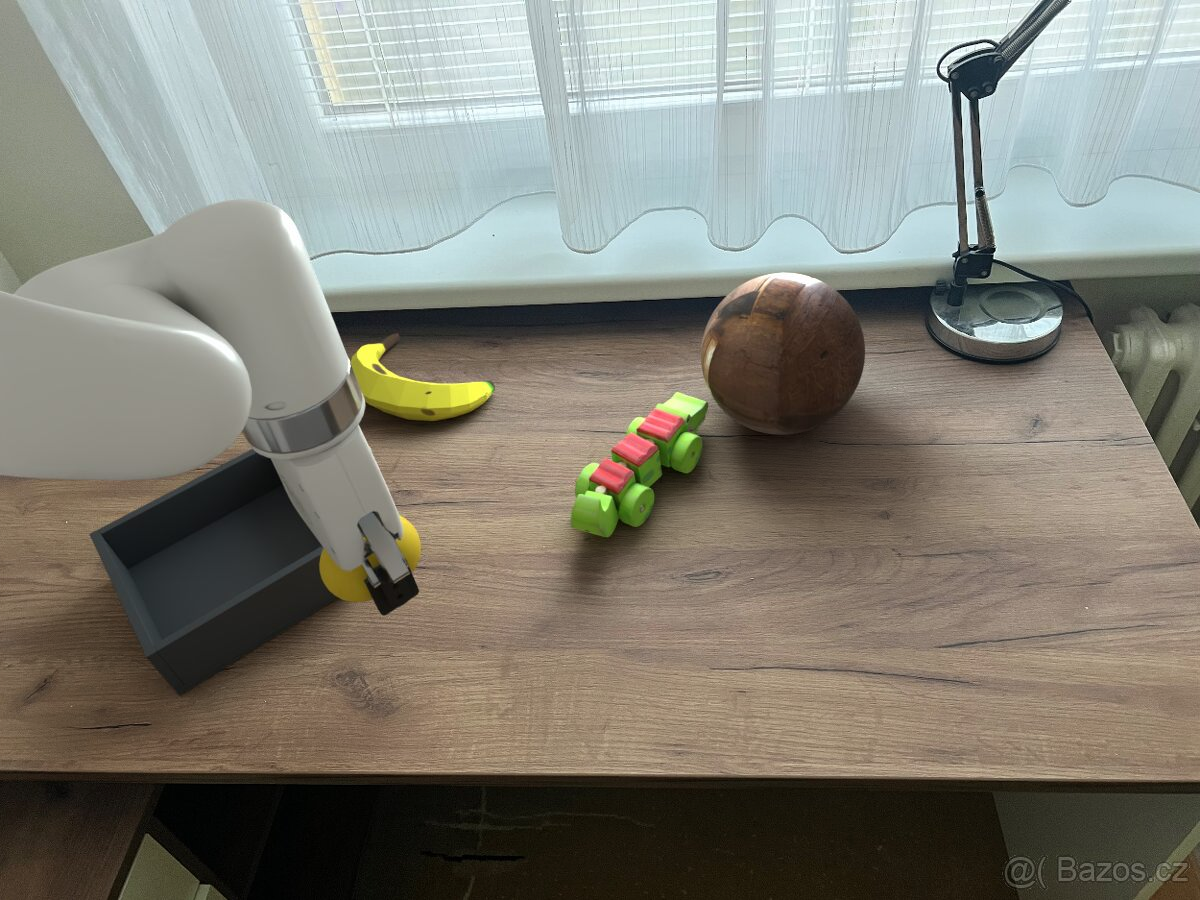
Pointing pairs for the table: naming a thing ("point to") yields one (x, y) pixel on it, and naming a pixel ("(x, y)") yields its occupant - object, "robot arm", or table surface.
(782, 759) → the table surface
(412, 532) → the yellow rounded tiered object
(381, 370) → the banana
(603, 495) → the toy crocodile
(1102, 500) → the table surface
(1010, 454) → the table surface
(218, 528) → the crate
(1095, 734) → the table surface
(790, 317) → the wooden sphere
